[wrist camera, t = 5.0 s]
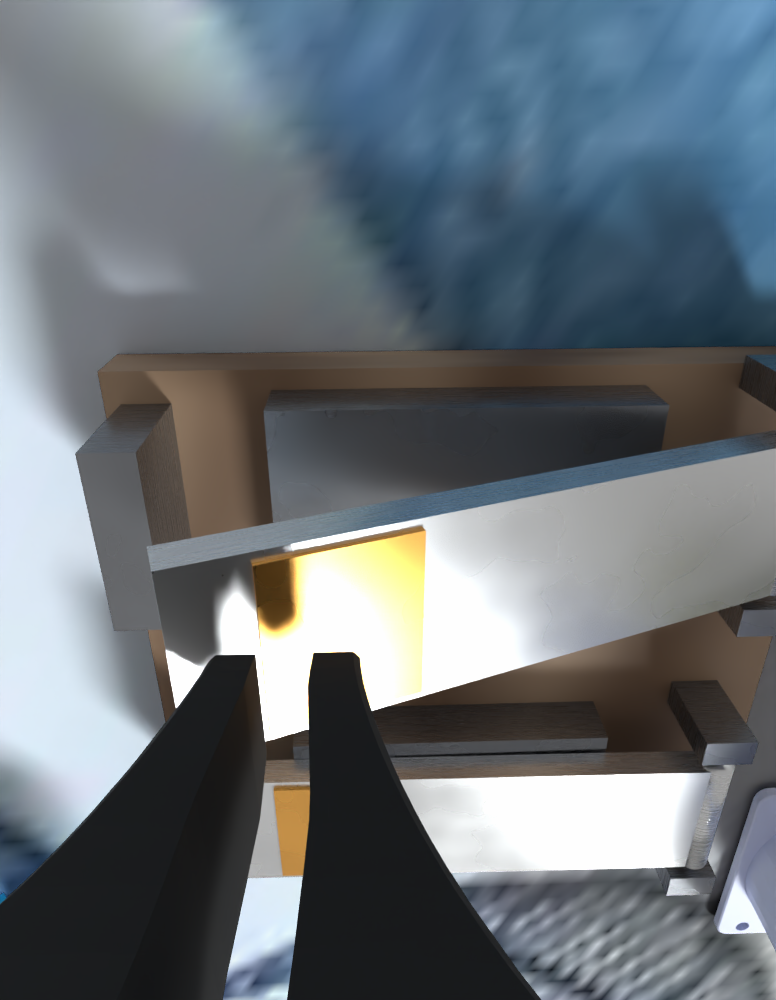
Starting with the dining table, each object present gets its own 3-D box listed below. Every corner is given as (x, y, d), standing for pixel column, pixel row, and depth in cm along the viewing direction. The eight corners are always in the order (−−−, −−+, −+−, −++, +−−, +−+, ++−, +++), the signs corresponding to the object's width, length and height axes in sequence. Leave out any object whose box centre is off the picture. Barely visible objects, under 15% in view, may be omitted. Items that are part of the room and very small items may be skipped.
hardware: (803, 354, 17) (886, 394, 14) (678, 825, 24) (718, 909, 22) (113, 363, 16) (64, 406, 14) (200, 839, 24) (180, 928, 21)
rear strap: (725, 747, 21) (741, 774, 20) (698, 840, 22) (712, 868, 21) (224, 758, 20) (218, 786, 19) (238, 852, 22) (233, 881, 21)
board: (818, 345, 18) (854, 361, 17) (698, 784, 26) (717, 819, 24) (117, 354, 18) (97, 371, 16) (197, 799, 25) (188, 836, 24)
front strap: (805, 422, 16) (845, 436, 15) (764, 570, 18) (798, 590, 17) (145, 543, 11) (151, 575, 11) (180, 728, 13) (187, 768, 12)
